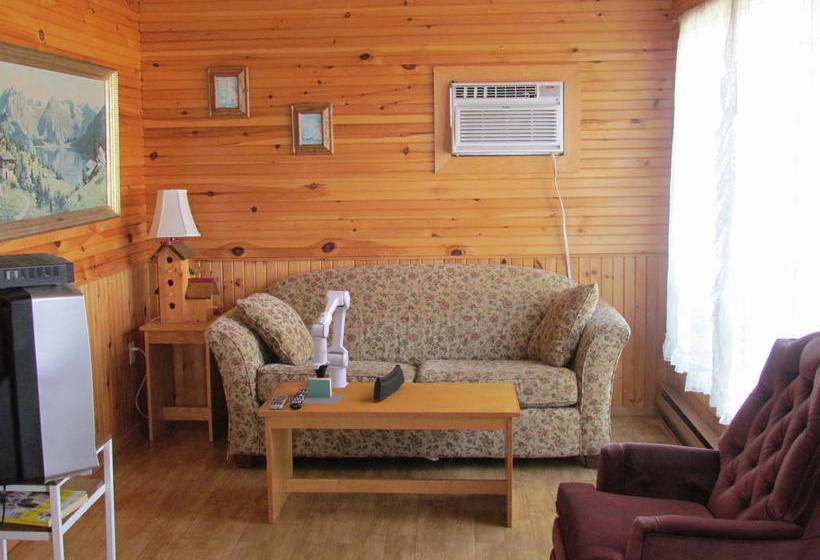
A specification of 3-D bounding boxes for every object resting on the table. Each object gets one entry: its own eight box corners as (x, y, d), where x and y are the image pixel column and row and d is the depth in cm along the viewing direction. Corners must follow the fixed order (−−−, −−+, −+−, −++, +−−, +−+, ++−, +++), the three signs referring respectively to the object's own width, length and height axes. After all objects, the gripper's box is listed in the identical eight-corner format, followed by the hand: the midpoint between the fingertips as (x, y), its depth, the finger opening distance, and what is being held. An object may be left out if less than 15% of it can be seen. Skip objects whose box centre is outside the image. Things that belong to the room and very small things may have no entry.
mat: (302, 393, 410) (302, 392, 409) (345, 394, 406) (345, 394, 406) (289, 403, 392) (289, 402, 392) (334, 405, 388) (334, 404, 388)
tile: (309, 395, 404) (309, 377, 402) (331, 395, 402) (331, 378, 400) (308, 396, 402) (307, 379, 400) (330, 397, 400) (329, 380, 398)
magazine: (377, 383, 388) (400, 350, 413) (370, 383, 389) (394, 350, 415) (382, 418, 394) (405, 383, 420) (375, 418, 395) (398, 383, 421)
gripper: (324, 355, 393) (325, 386, 395) (333, 348, 408) (334, 378, 409) (308, 354, 395) (309, 385, 396) (318, 348, 409) (318, 378, 411)
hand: (320, 382), depth 403 cm, fingers closed
